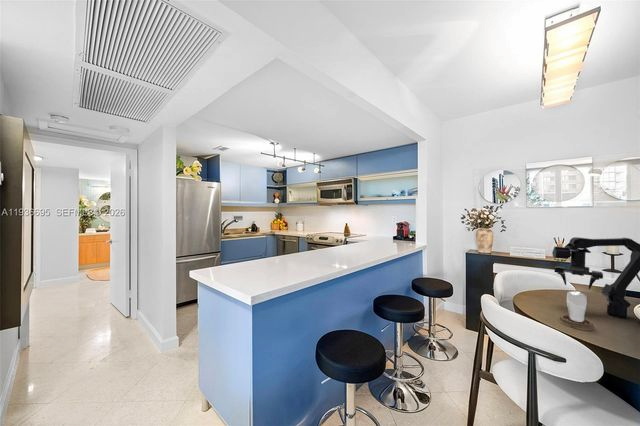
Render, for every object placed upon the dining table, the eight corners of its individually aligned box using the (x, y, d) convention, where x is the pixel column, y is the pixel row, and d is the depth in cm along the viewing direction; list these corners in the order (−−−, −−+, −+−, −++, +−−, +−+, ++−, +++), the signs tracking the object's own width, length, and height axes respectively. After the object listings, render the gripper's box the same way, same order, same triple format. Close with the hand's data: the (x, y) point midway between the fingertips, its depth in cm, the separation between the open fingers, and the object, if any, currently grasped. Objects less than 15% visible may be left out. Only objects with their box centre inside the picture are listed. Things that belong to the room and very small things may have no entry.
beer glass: (586, 327, 118) (586, 296, 117) (565, 322, 123) (565, 293, 123) (587, 323, 122) (587, 293, 122) (567, 318, 127) (567, 290, 127)
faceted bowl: (594, 324, 122) (594, 319, 122) (594, 333, 114) (595, 328, 114) (559, 316, 131) (559, 312, 131) (557, 324, 123) (557, 319, 123)
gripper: (554, 259, 140) (553, 286, 140) (604, 265, 126) (603, 295, 127) (555, 256, 147) (554, 282, 148) (602, 261, 134) (601, 289, 134)
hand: (577, 287), depth 139 cm, fingers open, 9 cm apart
